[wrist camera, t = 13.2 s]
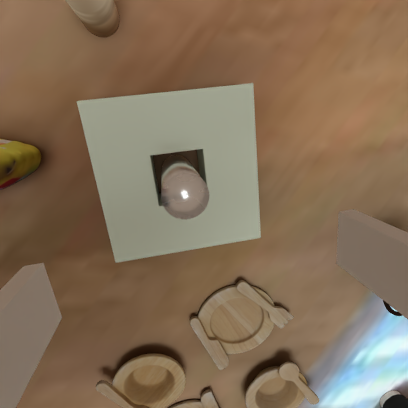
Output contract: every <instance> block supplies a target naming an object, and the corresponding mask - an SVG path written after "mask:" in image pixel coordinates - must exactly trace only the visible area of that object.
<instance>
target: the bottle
mask: <svg viewBox="0 0 408 408" xmlns="http://www.w3.org/2000/svg"><path fill="white" fill-rule="evenodd" d="M40 161H41V154H40V152H39V150H38V149H37V148H36V147H34V146H32V145H29V144H23V143H21V142H18V141H9V140H4V139H0V190H2V189H4V188H6V187H8V186H10V185H12V184H14V183H16V182H18V181H20V180H22V179H24V178H25V177H27V176H28V175H30V174H31V173H32V172H34V171H35V170H36V169H37V168H38V166H39V164H40Z"/></svg>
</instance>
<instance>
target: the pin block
mask: <svg viewBox="0 0 408 408" xmlns="http://www.w3.org/2000/svg"><path fill="white" fill-rule="evenodd" d="M77 105H78V109H79V113H80V117H81V121H82V125H83V129H84V134H85V138H86V142H87V146H88V150H89V154H90V158H91V163H92V167H93V171H94V175H95V179H96V183H97V188H98V192H99V196H100V200H101V204H102V208H103V212H104V217H105V221H106V225H107V229H108V233H109V237H110V241H111V246H112V250H113V254H114V258H115V262H116V263H117V262H123V261H129V260H135V259H140V258H146V257H152V256H158V255H164V254H169V253H175V252H181V251H187V250H192V249H198V248H204V247H210V246H216V245H221V244H227V243H233V242H239V241H245V240H250V239H256V238H261V232H260V212H259V192H258V171H257V151H256V131H255V110H254V90H253V83H250V84H241V85H231V86H221V87H211V88H201V89H191V90H181V91H172V92H162V93H152V94H142V95H132V96H122V97H113V98H103V99H93V100H83V101H77ZM189 150H197V157H198V165H199V174H200V177H201V178H202V179H203V181H204V182H205V183H206V185H207V187H208V190H209V202H208V205H207V207H206V208H205V210H204V211H203V212H202V213H201V214H200V215H198V216H196V217H194V218H191V219H178V218H175V217H173V216H172V215H170V214H169V213H168V212H167V211H166V210H165V208H164V206H163V204H162V199H161V193H160V194H159V189H158V183H157V177H156V172H155V166H154V160H153V155H158V154H166V153H174V152H182V151H189Z"/></svg>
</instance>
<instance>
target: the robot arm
mask: <svg viewBox="0 0 408 408" xmlns="http://www.w3.org/2000/svg"><path fill="white" fill-rule="evenodd" d="M336 264H338V265H339V266H340V267H342V268H343V269H344V270H345V271H347V272H348V273H349V274H350V275H352V276H353V277H354V278H356V279H357V280H358V281H359V282H361V283H362V284H363V285H365V286H366V287H367V288H368V289H370V290H371V291H372V292H374V293H375V294H376V295H377V296H379V297H380V298H381V299H383V300H384V301H385V302H386V303H388V304H389V305H390V306H392V307H393V308H394V309H395V310H397V311H398V312H399V313H400V314H402V315H403V316H404V317H406V318H407V319H408V232H406V231H403V230H401V229H399V228H396V227H394V226H392V225H389V224H387V223H385V222H382V221H380V220H378V219H375V218H373V217H371V216H368V215H366V214H364V213H361V212H359V211H357V210H354V209H352V210H346V211H341V212H339V218H338V241H337V263H336ZM61 319H62V316H61V313H60V310H59V307H58V305H57V302H56V299H55V296H54V293H53V290H52V287H51V284H50V281H49V278H48V275H47V272H46V269H45V266H44V263H39V264H33V265H28V266H23V267H22V268H21V269H20V270H19V271H18V272H17V273H16V274H15V275H14V276H13V277H12V278H11V279H10V280H9V281H8V282H7V283H6V284H5V286H4V287H3V288H2V289H1V290H0V408H16V406H17V404H18V402H19V401H20V399H21V397H22V395H23V393H24V391H25V389H26V387H27V385H28V383H29V381H30V379H31V377H32V375H33V373H34V371H35V369H36V367H37V365H38V364H39V362H40V360H41V358H42V356H43V354H44V352H45V350H46V348H47V346H48V344H49V342H50V340H51V338H52V336H53V334H54V332H55V330H56V329H57V327H58V325H59V323H60V321H61Z"/></svg>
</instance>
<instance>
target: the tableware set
mask: <svg viewBox="0 0 408 408" xmlns="http://www.w3.org/2000/svg"><path fill="white" fill-rule="evenodd" d="M292 318H293V316H292V315H291V314H290V313H289V312H288V311H286V310H285V309H284V308H283V307H281V306H274V303H273V301H272V300H271V298H270V297H269V296H268V295H267V294H266V293H265V292H264V291H262V290H261V289H259V288H257V287H254V286H250V285H249V284H248V283H247V282H246V281H244V280H240V281H239V282H237V284H236V285H232V286H228V287H225V288H222V289H220V290H218V291H216V292H215V293H213V294H212V295H211V296H210V297H209V298H208V299H207V300H206V301H205V302H204V304H203V305H202V307H201V308H200V311H199V313H198V317H197V316H193V317H191V318H190V325H191V327H192V328H193V330H194V331H195V333H196V334H197V336H198V337H199V339H200V341H201V342H202V344H203V345H204V347H205V348H206V350H207V351H208V353H209V354H210V356H211V357H212V359H213V361H214V362H215V364H216V365H217V367H218V368H219V370H222V369H225V368H226V367H227V366H228V363H229V359H228V357H227V354H238V353H243V352H246V351H249V350H251V349H253V348H255V347H257V346H258V345H259V344H261V343H262V342H263V341H264V340H265V339H266V338H267V337H268V336H269V334H270V333H271V331H272V329H273V327H274V324H276V325H277V326H278V327H279V328H283V327H284V325H283V324H284V323H285V324H287V323H288V321H287V320H288V319H289V320H291V319H292ZM185 384H186V376H185V372H184V369H183V367H182V366H181V365H180V363H178V362H177V361H176V360H175V359H173V358H171V357H169V356H166V355H163V354H144V355H140V356H138V357H135V358H133V359H131V360H129V361H128V362H126V363H125V364H123V365H122V366H121V367H120V369H119V370H118V371H117V373H116V374H115V377H114V379H113V384H112V385H111V384H110V383H108V382H107V381H104V380H101V381H99V382H98V383H97V385H96V390H97V391H98V392H100V393H101V394H103V395H104V396H106V397H107V398H109V399H110V400H112V401H113V402H115V403H116V404H118V405H119V406H121V407H122V408H165V407H166V406H168V405H170V404H171V403H173V402H174V401H175V400H176V399H177V398H178V397H179V396H180V395H181V394H182V392H183V390H184V387H185ZM305 397H306V398H307V400H308V401H309V402H310V403H311V404H317V403H318V402H319V399H318V397H317V395H316V394H315V393H314V392H313V391H312V390H311V389H310V388H309V387H308V386H307V382H306V379H305V377H304V376H303V375H302V374H301V373H300V372H299V368H298V366H297V365H296V364H295V363H293V362H285V363H283V364H282V365H281V366H280V367H278V366H272V367H268V368H266V369H264V370H262V371H261V372H260V373H259V374H258V375H257V376H256V378H255V379H254V380H253V381H252V383H251V384H250V385H249V387H248V389H247V391H246V395H245V402H246V406H247V408H297V407H298V406H299V405H300V404H301V403H302V401H303V400H304V398H305ZM169 408H219V406H218V404H217V402H216V400H215V398H214V395H213V393H212V391H211V389H208V390H206V391H204V392H203V393H202V395H201V400H188V401H183V402H180V403H177V404H175V405H173V406H171V407H169Z"/></svg>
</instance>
